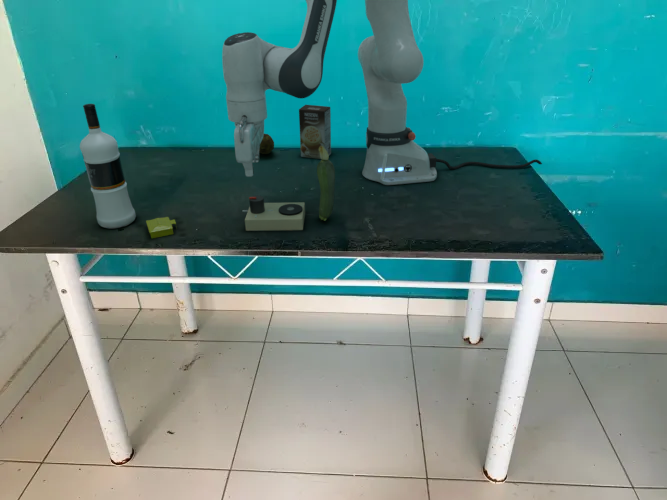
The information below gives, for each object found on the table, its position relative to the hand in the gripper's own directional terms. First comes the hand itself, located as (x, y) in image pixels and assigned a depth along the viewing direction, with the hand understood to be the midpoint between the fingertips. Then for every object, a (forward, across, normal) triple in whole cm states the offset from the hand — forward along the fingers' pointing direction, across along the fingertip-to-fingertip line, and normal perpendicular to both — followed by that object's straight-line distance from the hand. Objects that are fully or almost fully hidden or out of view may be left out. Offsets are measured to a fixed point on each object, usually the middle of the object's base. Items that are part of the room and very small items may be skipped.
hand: (252, 168), depth 125 cm
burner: (+11, 0, -8) cm, 14 cm away
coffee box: (+14, +50, -13) cm, 54 cm away
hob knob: (+11, 0, 0) cm, 11 cm away
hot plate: (+14, 0, -5) cm, 15 cm away
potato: (+14, +52, +5) cm, 54 cm away
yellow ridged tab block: (+15, -4, +23) cm, 28 cm away
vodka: (+15, +1, +36) cm, 39 cm away
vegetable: (+14, 0, -18) cm, 23 cm away
